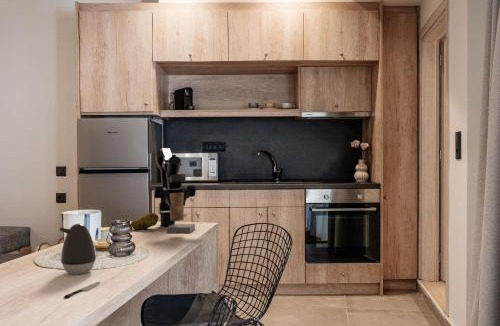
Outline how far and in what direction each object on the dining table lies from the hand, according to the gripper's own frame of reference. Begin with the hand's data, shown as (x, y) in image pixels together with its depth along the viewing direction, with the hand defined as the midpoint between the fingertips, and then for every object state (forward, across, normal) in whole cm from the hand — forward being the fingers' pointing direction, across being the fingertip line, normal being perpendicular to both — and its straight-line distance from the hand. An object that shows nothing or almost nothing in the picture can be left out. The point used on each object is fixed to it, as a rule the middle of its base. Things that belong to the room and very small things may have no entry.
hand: (177, 205), depth 217 cm
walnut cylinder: (+4, 0, +6) cm, 7 cm away
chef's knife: (+64, -37, -45) cm, 87 cm away
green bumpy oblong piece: (-8, -12, +27) cm, 31 cm away
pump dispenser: (+50, -40, -31) cm, 71 cm away
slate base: (0, +4, +19) cm, 19 cm away
